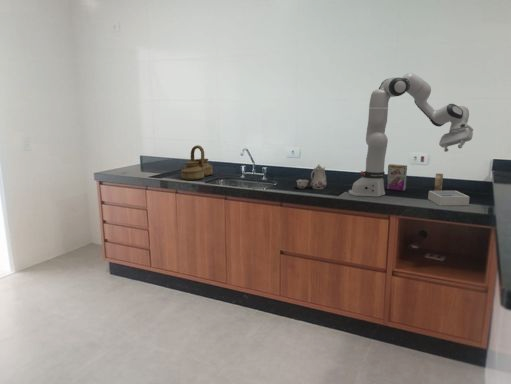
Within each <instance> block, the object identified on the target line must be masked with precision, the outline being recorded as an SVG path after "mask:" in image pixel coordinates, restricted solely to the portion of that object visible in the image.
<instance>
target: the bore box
mask: <svg viewBox="0 0 511 384" xmlns="http://www.w3.org/2000/svg"><path fill="white" fill-rule="evenodd" d="M427 195H428V196H427V200H429V201H431V202H433V203H434V204H436V205H438V206H441V207H442V206H445V207H446V206H469V205H470V196H469V195H467V194H464V193H463V192H460V191H458V190H442V191H434V190H429V191H428V194H427Z"/></svg>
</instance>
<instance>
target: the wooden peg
mask: <svg viewBox="0 0 511 384" xmlns="http://www.w3.org/2000/svg"><path fill="white" fill-rule="evenodd" d="M434 177H435V178H434V179H435V180H434V190H433V191H443V190H442V189H443V179H444V178H443V177H444V174H443V173H435V176H434Z"/></svg>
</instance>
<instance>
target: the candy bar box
mask: <svg viewBox="0 0 511 384" xmlns="http://www.w3.org/2000/svg"><path fill="white" fill-rule="evenodd" d="M407 170H408V165H405V164H394V163H393V164H392V163H390V164H388V166H387V175H386V176H387V177H386V178H387V180H386V190H391V191H398V192H399V191H401V192H404V191H406V185H407V175H408V173H407Z"/></svg>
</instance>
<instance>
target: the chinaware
mask: <svg viewBox="0 0 511 384" xmlns="http://www.w3.org/2000/svg"><path fill="white" fill-rule="evenodd" d="M325 169H326V166H324V167H322V166H321V165H320V164H317V166H316V167H314V169H313V170H312V172H311V173H310V179H311V181H310V180H308V179H298V180H295V182H296V184H297V187H298V188H299V189H300V190H301V189H304V190H305V188H306V187H307V186H308V184H309V185H310V186H311V189H313V190H324V189H325V187H326V186H327V184H328V183H327V182H328V179H327V176H326V172H325ZM309 182H310V183H309Z"/></svg>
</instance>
